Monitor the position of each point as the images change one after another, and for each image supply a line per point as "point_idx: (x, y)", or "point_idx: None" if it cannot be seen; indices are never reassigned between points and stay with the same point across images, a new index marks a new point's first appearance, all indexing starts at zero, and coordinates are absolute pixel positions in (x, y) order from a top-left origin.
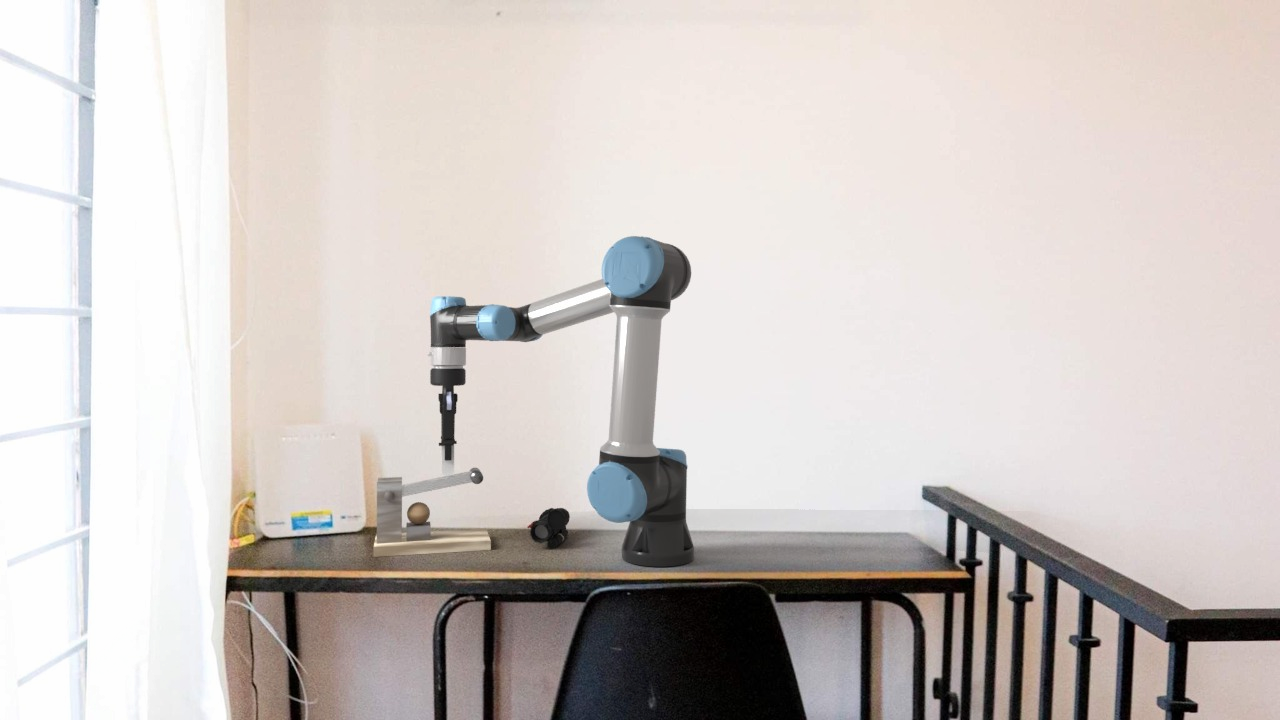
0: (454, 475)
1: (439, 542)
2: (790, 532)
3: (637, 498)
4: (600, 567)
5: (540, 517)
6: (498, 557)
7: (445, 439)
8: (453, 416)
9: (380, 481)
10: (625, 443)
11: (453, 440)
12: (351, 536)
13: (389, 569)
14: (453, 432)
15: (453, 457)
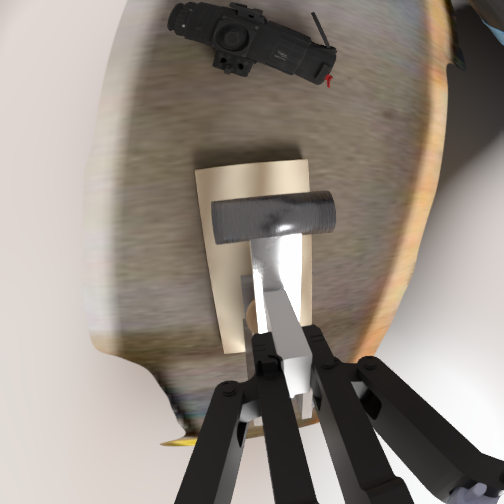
0: (279, 287)
1: (303, 253)
2: None
3: None
4: (413, 33)
5: (248, 50)
6: (353, 150)
7: (373, 393)
8: (461, 440)
9: (305, 415)
10: None
11: (382, 365)
12: (178, 374)
13: (374, 302)
14: (407, 389)
15: (298, 325)
